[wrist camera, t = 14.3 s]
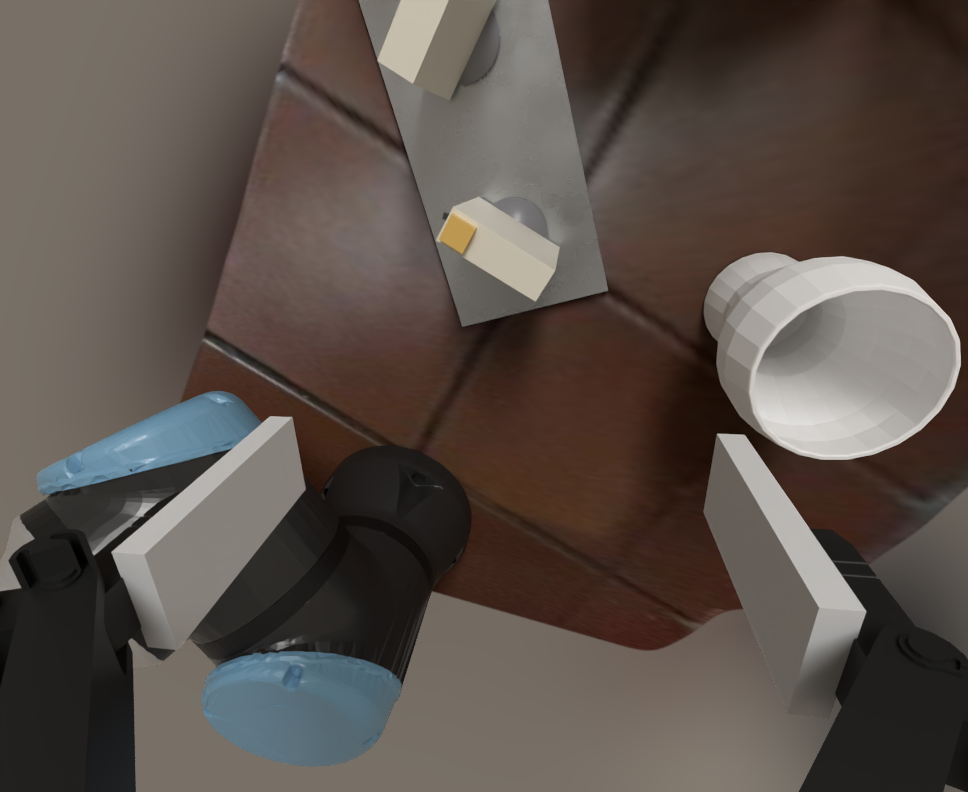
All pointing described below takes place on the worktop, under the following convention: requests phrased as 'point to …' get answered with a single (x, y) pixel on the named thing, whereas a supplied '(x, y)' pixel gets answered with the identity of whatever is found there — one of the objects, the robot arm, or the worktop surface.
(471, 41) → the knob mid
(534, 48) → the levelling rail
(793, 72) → the worktop surface
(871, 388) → the cup
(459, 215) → the slab with yellow pad
